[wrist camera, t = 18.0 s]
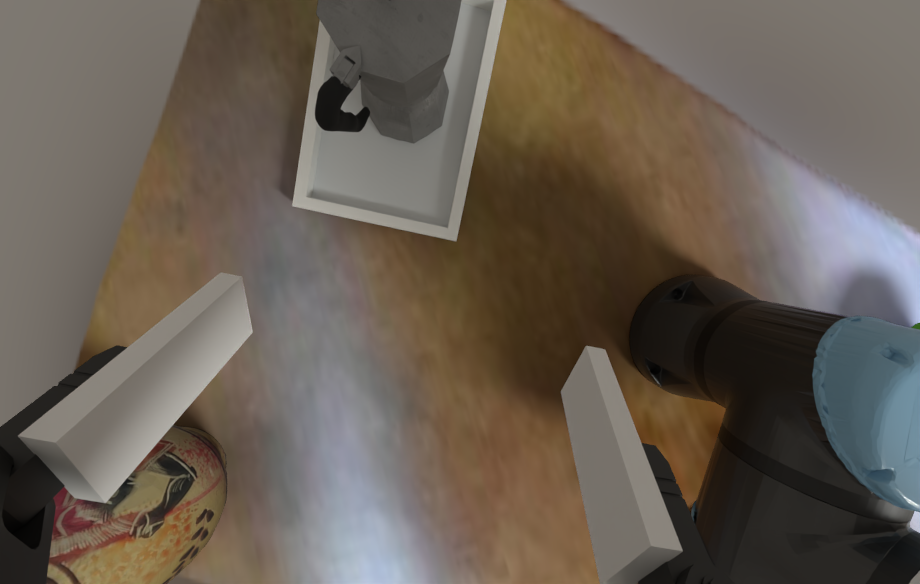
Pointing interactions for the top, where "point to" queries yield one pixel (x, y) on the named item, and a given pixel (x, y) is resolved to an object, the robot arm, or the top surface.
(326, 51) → the docking tray
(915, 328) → the snack cup
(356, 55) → the coffeepot
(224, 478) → the ceramic jug
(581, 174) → the top surface
